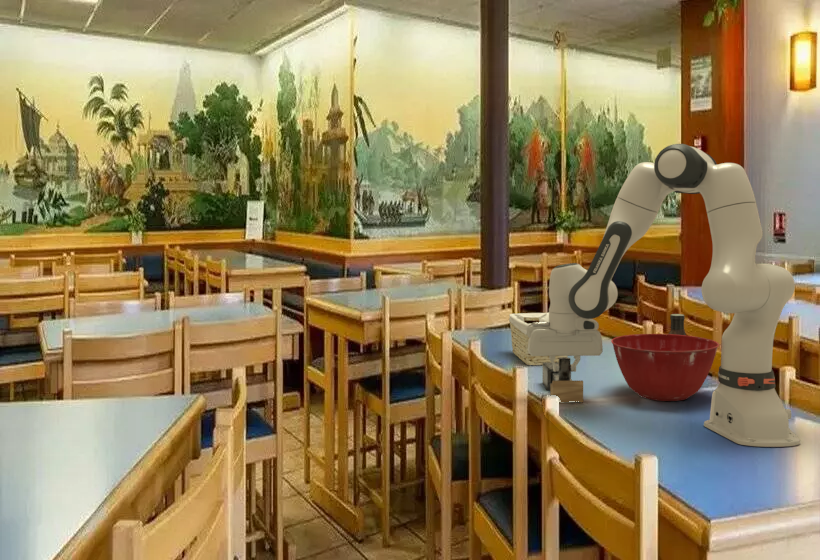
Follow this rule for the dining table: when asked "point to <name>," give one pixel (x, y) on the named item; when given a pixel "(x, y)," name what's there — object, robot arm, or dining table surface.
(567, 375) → the dark grey upright block
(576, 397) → the brown wooden block
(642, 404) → the dining table surface
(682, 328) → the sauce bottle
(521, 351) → the storage basket
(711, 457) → the dining table surface
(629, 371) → the mixing bowl
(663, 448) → the dining table surface
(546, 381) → the sleeve
